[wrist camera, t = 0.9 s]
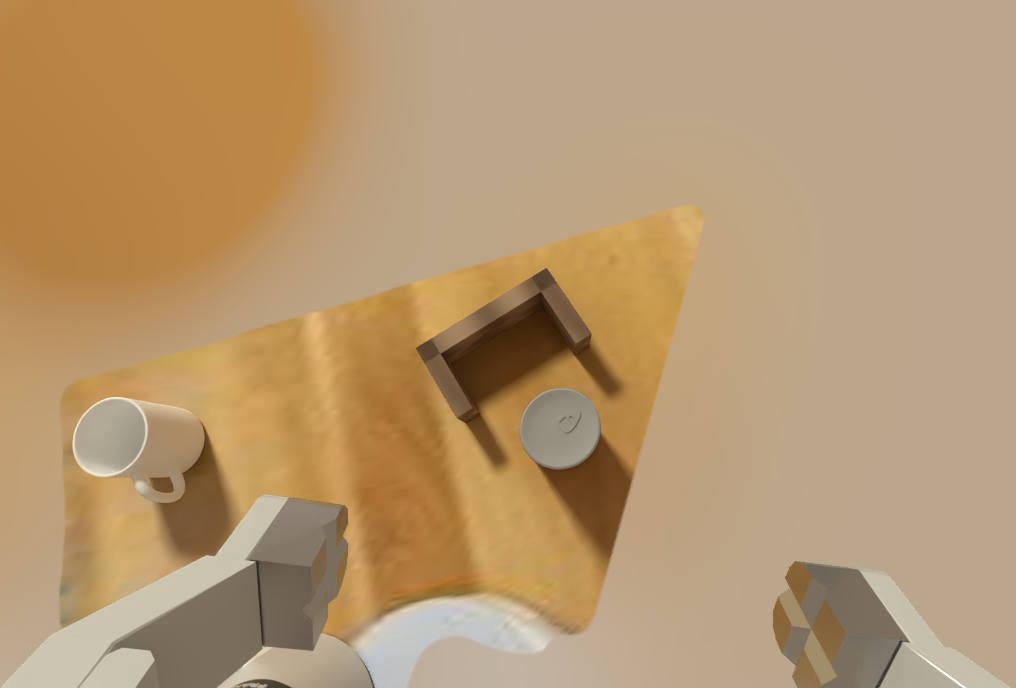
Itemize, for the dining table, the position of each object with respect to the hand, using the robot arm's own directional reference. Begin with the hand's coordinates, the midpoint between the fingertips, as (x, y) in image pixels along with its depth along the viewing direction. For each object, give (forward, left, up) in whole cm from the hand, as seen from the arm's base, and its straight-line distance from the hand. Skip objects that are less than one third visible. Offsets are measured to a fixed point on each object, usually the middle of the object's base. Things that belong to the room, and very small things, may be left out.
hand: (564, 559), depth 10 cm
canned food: (+3, +5, -55) cm, 55 cm away
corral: (+3, +17, -54) cm, 57 cm away
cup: (-37, +27, -55) cm, 71 cm away
